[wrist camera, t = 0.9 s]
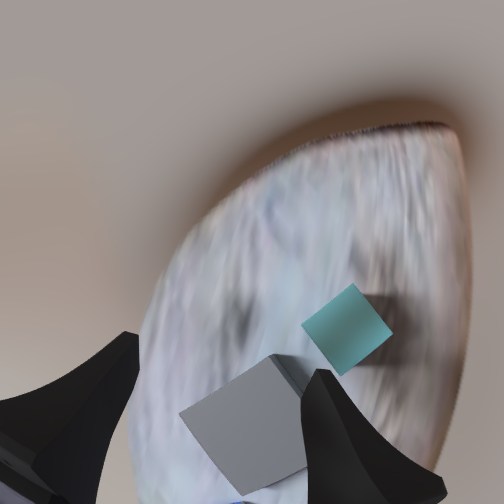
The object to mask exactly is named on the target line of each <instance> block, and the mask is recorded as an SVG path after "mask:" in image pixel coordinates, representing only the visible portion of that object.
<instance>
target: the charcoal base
mask: <svg viewBox="0 0 504 504" xmlns="http://www.w3.org/2000/svg"><path fill="white" fill-rule="evenodd" d="M303 394H304V393H303V392H302V391H301V389H300V388H299V387H298V386H297V384H296V383H295V382H294V380H293V379H292V378H291V376H290V375H289V374H288V372H287V371H286V370H285V368H284V367H283V366H282V364H281V363H280V362H279V360H278V359H277V357H276V356H275V355H274V354H272V355H270V356H268V357H266V358H265V359H263V360H262V361H261V362H259V363H258V364H256V365H255V366H253V367H252V368H250V369H249V370H247V371H246V372H244V373H243V374H241V375H240V376H238V377H237V378H235V379H234V380H232V381H231V382H229V383H228V384H226V385H225V386H223V387H221V388H220V389H218V390H217V391H215V392H214V393H212V394H210V395H209V396H207V397H206V398H204V399H202V400H201V401H199V402H197V403H196V404H194V405H192V406H191V407H189V408H187V409H186V410H184V411H182V412H180V413H179V415H180V417H181V418H182V420H183V421H184V423H185V424H186V426H187V427H188V429H189V430H190V431H191V433H192V434H193V436H194V437H195V438H196V440H197V441H198V443H199V444H200V445H201V447H202V448H203V449H204V451H205V452H206V453H207V455H208V456H209V457H210V459H211V460H212V461H213V462H214V464H215V465H216V466H217V467H218V469H219V470H220V471H221V472H222V474H223V475H224V476H225V477H226V478H227V480H228V481H229V482H230V483H231V484H232V485H233V487H234V488H235V489H236V490H237V491H238V492H239V493H240V495H241V496H244V495H247V494H249V493H252V492H254V491H256V490H259V489H261V488H263V487H266V486H268V485H270V484H272V483H274V482H277V481H279V480H281V479H283V478H285V477H287V476H289V475H291V474H293V473H295V472H297V471H299V470H301V469H303V468H305V467H307V460H306V453H305V446H304V440H303V433H302V426H301V412H300V399H301V397H302V396H303Z"/></svg>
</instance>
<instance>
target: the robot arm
mask: <svg viewBox="0 0 504 504" xmlns="http://www.w3.org/2000/svg"><path fill="white" fill-rule="evenodd" d="M139 370H140V364H139V335H137V334H134V333H130V332H127V331H124V332H122V333H121V334H120V335H119V336H117V337H116V338H115V339H114V340H113V341H111V342H110V343H109V344H108V345H107V346H105V347H104V348H103V349H102V350H100V351H99V352H98V353H96V354H95V355H94V356H93V357H91V358H90V359H88V360H87V361H86V362H84V363H83V364H81V365H80V366H78V367H77V368H75V369H74V370H72V371H71V372H69V373H68V374H66V375H64V376H62V377H61V378H59V379H57V380H55V381H53V382H51V383H50V384H47V385H45V386H43V387H41V388H38V389H36V390H34V391H31V392H28V393H26V394H22V395H19V396H16V397H13V398H9V399H5V400H1V401H0V504H95V503H96V497H97V491H98V486H99V482H100V477H101V473H102V469H103V465H104V461H105V457H106V453H107V450H108V447H109V444H110V441H111V438H112V435H113V432H114V430H115V428H116V426H117V423H118V421H119V419H120V417H121V415H122V412H123V411H124V408H125V406H126V404H127V402H128V400H129V398H130V396H131V393H132V391H133V389H134V386H135V383H136V380H137V377H138V374H139ZM300 412H301V426H302V433H303V440H304V446H305V453H306V460H307V469H308V504H437V503H439V502H440V501H442V500H443V499H444V498H445V497H446V496H447V494H448V493H447V490H446V487H445V485H444V482H443V479H442V477H440V476H438V475H436V474H434V473H432V472H430V471H428V470H426V469H425V468H423V467H421V466H420V465H418V464H416V463H415V462H413V461H412V460H410V459H409V458H408V457H406V456H405V455H403V454H402V453H401V452H400V451H398V450H397V449H396V448H395V447H393V446H392V445H391V444H390V443H389V442H388V441H387V440H386V439H385V438H384V437H383V436H382V435H380V434H379V433H378V432H377V431H376V429H375V428H374V427H373V426H372V425H371V424H370V423H369V422H368V420H367V419H366V418H365V417H364V416H363V415H362V413H361V412H360V411H359V410H358V408H357V407H356V406H355V404H354V403H353V402H352V400H351V399H350V398H349V396H348V395H347V393H346V392H345V391H344V389H343V388H342V386H341V385H340V383H339V382H338V380H337V379H336V378H335V376H334V375H333V373H332V372H331V371H330V370H326V369H316V370H315V372H314V374H313V376H312V378H311V380H310V382H309V384H308V386H307V388H306V390H305V392H304V394H303V396H302V397H301V399H300Z"/></svg>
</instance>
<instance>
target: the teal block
mask: <svg viewBox="0 0 504 504" xmlns="http://www.w3.org/2000/svg"><path fill="white" fill-rule="evenodd" d="M301 326H302V327H303V328H304V330H305V331H306V332H307V334H308V335H309V336H310V338H311V339H312V340H313V342H314V343H315V344H316V345H317V347H318V348H319V349H320V351H321V352H322V353H323V355H324V356H325V357H326V359H327V360H328V361H329V362H330V364H331V365H332V366H333V368H334V369H335V370H336V372H337V373H338V374H339V376H342V375H343V374H344V373H346V372H347V371H348V370H350V369H351V368H352V367H354V366H355V365H356V364H357V363H359V362H360V361H361V360H362V359H364V358H365V357H366V356H367V355H369V354H370V353H371V352H372V351H373V350H375V349H376V348H377V347H378V346H379V345H381V344H382V343H383V342H384V341H385V340H386V339H388V338H389V337H390V336H391V335H392V334H393V333H392V332H391V330H390V329H389V328H388V327H387V325H386V324H385V323H384V321H383V320H382V319H381V317H380V316H379V315H378V314H377V312H376V311H375V310H374V308H373V307H372V306H371V305H370V303H369V302H368V301H367V300H366V298H365V297H364V296H363V295H362V293H361V292H360V291H359V290H358V288H357V287H356V286H355V285H354V283H352V284H351V285H350V286H349V287H348V288H346V289H345V290H344V291H343V292H342V293H340V294H339V295H338V296H337V297H335V298H334V299H333V300H332V301H331V302H329V303H328V304H327V305H326V306H324V307H323V308H322V309H321V310H319V311H318V312H317V313H315V314H314V315H313V316H312V317H310V318H309V319H308V320H306V321H305V322H304V323H303V324H301Z"/></svg>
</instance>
